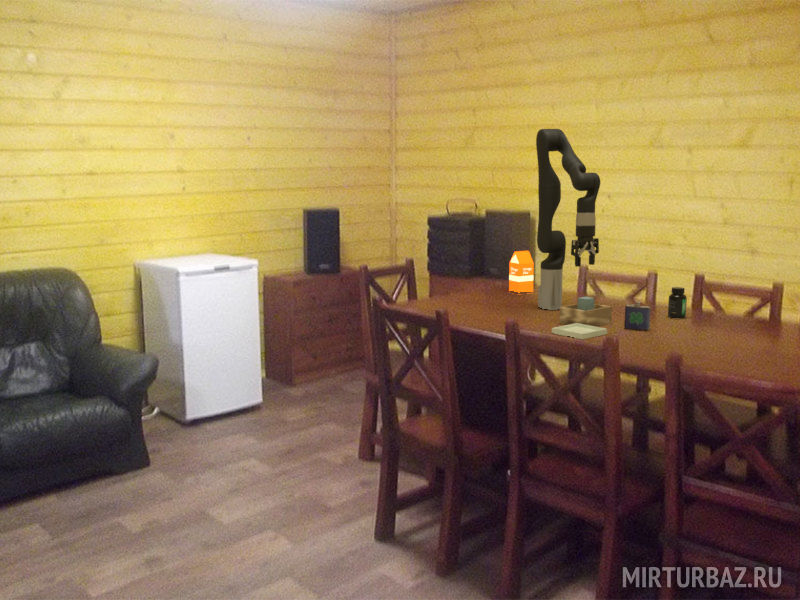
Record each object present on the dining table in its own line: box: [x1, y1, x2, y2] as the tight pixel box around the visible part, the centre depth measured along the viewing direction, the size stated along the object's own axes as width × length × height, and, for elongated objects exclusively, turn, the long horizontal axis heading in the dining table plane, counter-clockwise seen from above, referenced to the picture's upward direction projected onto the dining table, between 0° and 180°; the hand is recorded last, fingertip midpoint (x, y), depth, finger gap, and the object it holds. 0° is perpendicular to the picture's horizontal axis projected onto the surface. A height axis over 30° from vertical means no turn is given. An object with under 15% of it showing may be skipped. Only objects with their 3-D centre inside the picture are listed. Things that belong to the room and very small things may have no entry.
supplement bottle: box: [667, 286, 688, 319], centre depth 326 cm, size 7×7×12 cm
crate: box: [559, 303, 613, 327], centre depth 316 cm, size 13×16×6 cm
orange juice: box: [508, 250, 535, 293], centre depth 390 cm, size 8×9×20 cm
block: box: [577, 296, 596, 311], centre depth 316 cm, size 4×4×8 cm
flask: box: [623, 301, 652, 332], centre depth 303 cm, size 9×3×11 cm, turn 63°
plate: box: [551, 323, 608, 340], centre depth 298 cm, size 14×14×2 cm
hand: (584, 265), depth 321 cm, fingers open, 8 cm apart
